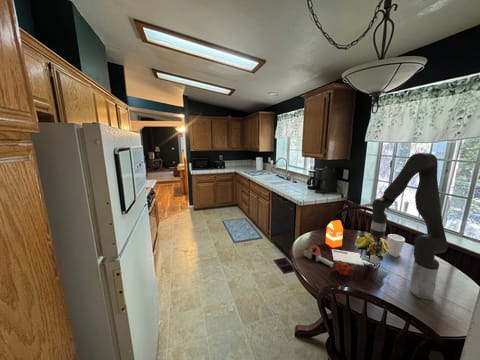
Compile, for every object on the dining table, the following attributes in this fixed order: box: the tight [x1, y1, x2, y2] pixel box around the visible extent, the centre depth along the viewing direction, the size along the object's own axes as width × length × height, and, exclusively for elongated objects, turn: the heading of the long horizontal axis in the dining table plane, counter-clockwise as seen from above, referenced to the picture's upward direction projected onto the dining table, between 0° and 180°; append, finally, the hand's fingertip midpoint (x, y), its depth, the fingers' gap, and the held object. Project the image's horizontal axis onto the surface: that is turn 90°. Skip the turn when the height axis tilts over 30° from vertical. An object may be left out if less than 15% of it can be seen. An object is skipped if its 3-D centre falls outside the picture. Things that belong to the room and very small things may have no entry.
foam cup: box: [387, 233, 406, 258], centre depth 139 cm, size 10×9×13 cm
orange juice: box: [325, 219, 344, 249], centre depth 152 cm, size 8×9×20 cm
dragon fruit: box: [333, 260, 356, 277], centre depth 120 cm, size 8×8×12 cm
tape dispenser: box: [303, 244, 334, 268], centre depth 136 cm, size 18×5×20 cm
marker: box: [369, 254, 378, 265], centre depth 128 cm, size 4×4×12 cm
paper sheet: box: [331, 248, 365, 267], centre depth 137 cm, size 14×18×1 cm
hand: (374, 250), depth 128 cm, fingers open, 8 cm apart
